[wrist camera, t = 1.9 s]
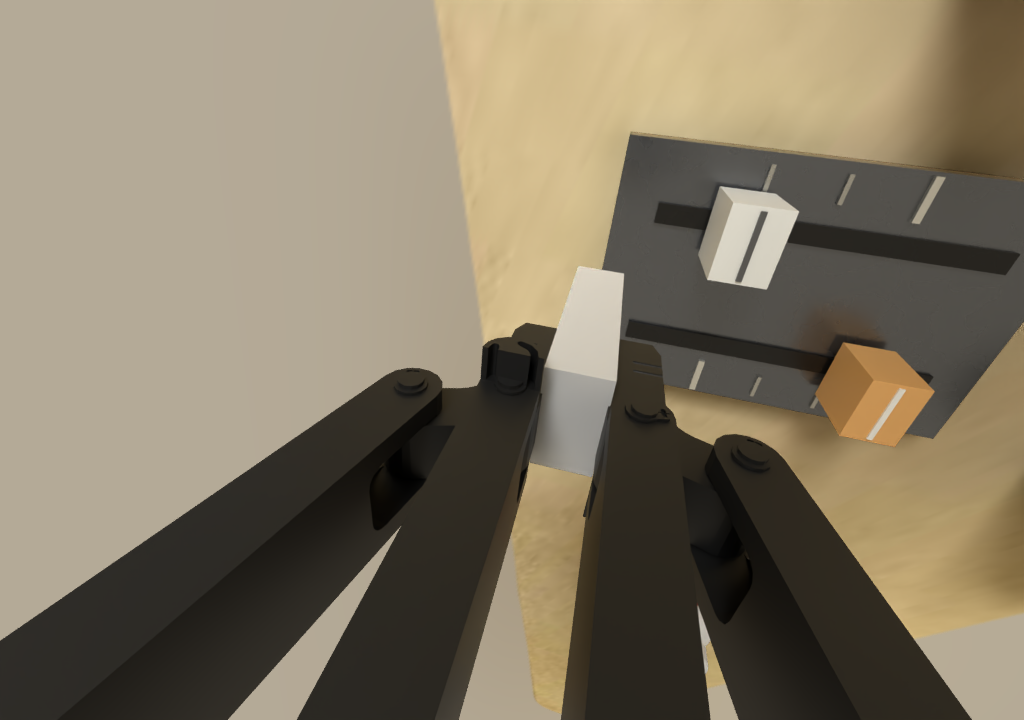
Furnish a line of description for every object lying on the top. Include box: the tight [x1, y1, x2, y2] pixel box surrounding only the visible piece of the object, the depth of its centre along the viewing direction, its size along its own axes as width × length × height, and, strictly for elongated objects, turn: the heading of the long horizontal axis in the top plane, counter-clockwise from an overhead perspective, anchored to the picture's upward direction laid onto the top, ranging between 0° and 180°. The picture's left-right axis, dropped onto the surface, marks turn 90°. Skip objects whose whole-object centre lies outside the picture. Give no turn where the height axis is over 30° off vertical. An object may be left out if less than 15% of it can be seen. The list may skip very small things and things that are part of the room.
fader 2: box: [815, 342, 935, 447], centre depth 27 cm, size 4×3×4 cm
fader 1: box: [698, 186, 799, 290], centre depth 25 cm, size 4×3×4 cm
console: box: [602, 132, 1024, 439], centre depth 29 cm, size 16×24×2 cm, turn 84°
